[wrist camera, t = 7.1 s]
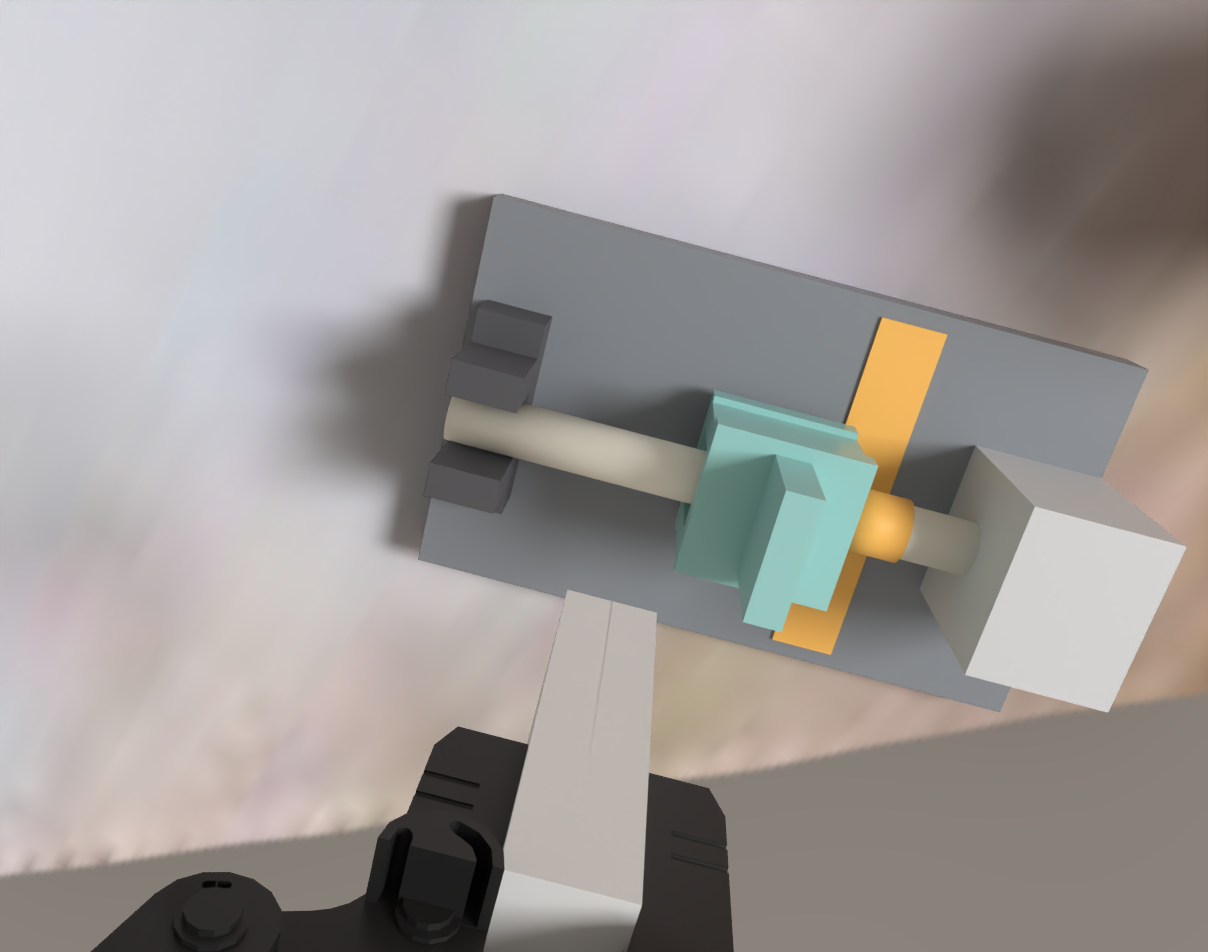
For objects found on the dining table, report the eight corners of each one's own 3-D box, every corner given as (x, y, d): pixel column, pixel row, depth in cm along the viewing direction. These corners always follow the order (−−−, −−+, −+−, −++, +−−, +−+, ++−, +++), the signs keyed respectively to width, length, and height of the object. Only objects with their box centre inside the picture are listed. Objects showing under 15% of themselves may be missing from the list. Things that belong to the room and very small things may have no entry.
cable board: (502, 194, 31) (452, 207, 25) (1127, 359, 32) (1247, 418, 25) (428, 542, 35) (368, 636, 28) (987, 689, 35) (1058, 817, 29)
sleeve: (713, 389, 31) (721, 456, 24) (854, 426, 31) (901, 503, 24) (675, 520, 32) (672, 618, 26) (809, 556, 32) (842, 663, 26)
